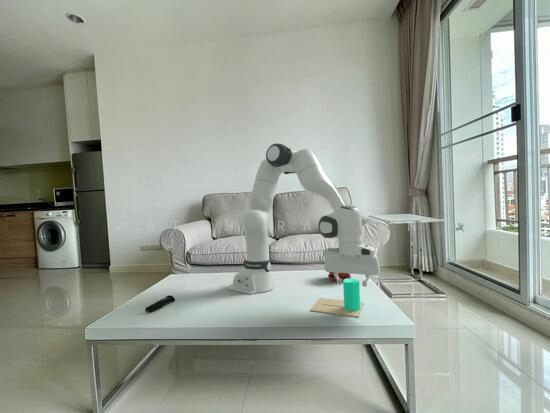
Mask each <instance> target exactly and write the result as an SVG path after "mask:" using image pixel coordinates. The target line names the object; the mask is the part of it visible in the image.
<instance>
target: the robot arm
mask: <svg viewBox="0 0 550 413" xmlns="http://www.w3.org/2000/svg"><path fill="white" fill-rule="evenodd" d="M265 152H266V153H265V158H264V159H263V160H262V161H261V163H260V164H259V167H258V169H257V172H256V176H255V179H254V182H253V186H252V190H251V195H250V202H249V207H248V211H247V212H245V213H244V216H243V218H242V224H243V232H244V238H245V239H244V240H245V247H246V248H245V249H246V259H245V260H244V261H242V265H244V266H243V267H242V269H240V270H239V271H238V272H237V273H235V275H234V277H233V280H232V284H230V285H229V286H228V290H230V291H234V292H239V293H243V294H248V295H254V294H258V293H264V292H265V293H266V292H270V291H271V290H273V289H274V287H275V286H274V283H273V279H272V272H271V269H272V265H271V258H270V246H269V245H270V244H269V243H270V242H269V234H268V224H269V221H270V217H271V211H272V208H273V207H272V206H273V202H274V198H275V194H276V191H277V186H278V182H279V178H280V176H281V175H282V174H284V175H290V174H296V176H297V179H298V180H299V183H300V185H301V187H302V188H303V189H304V190H305V191H306V192H309V193H312V194H314V195H315V194H316V195H318V196H320V197H321V198H324V199H325V200H326V201H327V202H328V203H329V205H330V207H331V209H332V210H333V212H331V213H328V214H326V215H323V216H321V217H320V219H319V220H318V223H317V224H318V226H317V227H318V231H319V233H320V235H321V236H322V237H323V238H325V239H337V240H338V241H337V242H338V247H328V248H326V249H324V250H323V256H324V268H323V269H324V271H326V273H329V272H334V276H335V278H336V279H337V281H336V284H337V285H342V283H343V281H342V279H339V277H338V274H339V273H349V274H350V275H352V274H354V275H364V277H365V280H362V283H361V284H362V286H361V287H367V286H368V280H369V279H370V277H371V276H379V274H380V270H381V269H380V261H379V258H378V255H377V254H376V247H374V246H371V245H368V244H366V243H363V238H362V231H363V222H362V214H361V211H360V209H359V208H358V207H356V206H353V205H348V204H347V203H346V201H345V199H344V198H343V196H342V194H341V193H340V191H339V189H338V188H337V186H336V185H335V184H334V183H333V182H332V181H331V180H330V179H329V178H328V176H327V175H326V173H325V171H324V170H323V167H322V166H321V162H319V160H318V158H317V157H316V155H315V153H314V152H313V151H312V149H307V148H302V149H300V150H295V149H294V148H292V147H290V146H286V145H285V144H283V143H273V144H271V145H270V146H269V147H268V148H267V150H266V151H265Z"/></svg>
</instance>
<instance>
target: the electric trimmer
mask: <svg viewBox="0 0 550 413" xmlns="http://www.w3.org/2000/svg"><path fill="white" fill-rule="evenodd" d="M171 302H175V297H174V296H173V295H166V296H165V297H164V298H162V299H159V300H158V301H155V302H154V303H152V304H150V305H148V306H146V307H145V309H144V311H145V312H147V313H151V312H154V311H157V310H159V309H162V308H163V307H164V306H166V305H167V304H170V303H171Z"/></svg>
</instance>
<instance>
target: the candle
mask: <svg viewBox="0 0 550 413" xmlns="http://www.w3.org/2000/svg"><path fill="white" fill-rule="evenodd" d="M342 283H343V285H342V286H343V300H344V308H345V309H347V310H350V311H357V310H360V302H361V291H360V290H361V288H360V286H361V285H360V280H358V279H356V278H350V279H344V280H343V281H342Z"/></svg>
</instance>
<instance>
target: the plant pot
mask: <svg viewBox="0 0 550 413" xmlns="http://www.w3.org/2000/svg"><path fill="white" fill-rule="evenodd" d="M328 273H329V274H328V275H327V277H328V278H329V280H330V281H334V282H337V279H336V278H335V276H334V272H328ZM338 277H339V279H342V282H343V280H344V279H352V276H351V274H349V273H339V274H338Z"/></svg>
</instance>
